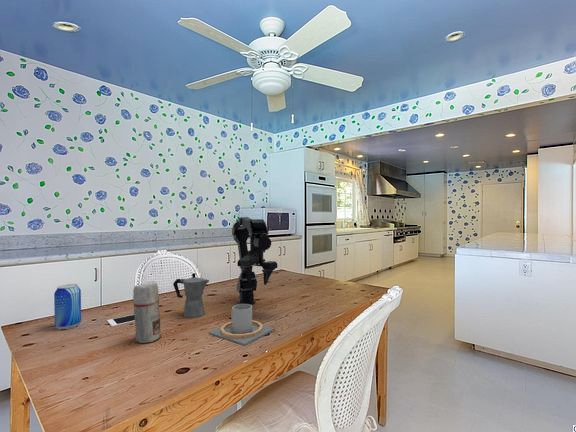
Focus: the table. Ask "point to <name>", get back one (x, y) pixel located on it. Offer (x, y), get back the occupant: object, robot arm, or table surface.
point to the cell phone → (122, 320)
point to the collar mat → (242, 339)
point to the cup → (241, 318)
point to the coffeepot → (192, 295)
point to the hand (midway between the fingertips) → (257, 283)
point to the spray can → (146, 312)
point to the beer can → (67, 306)
